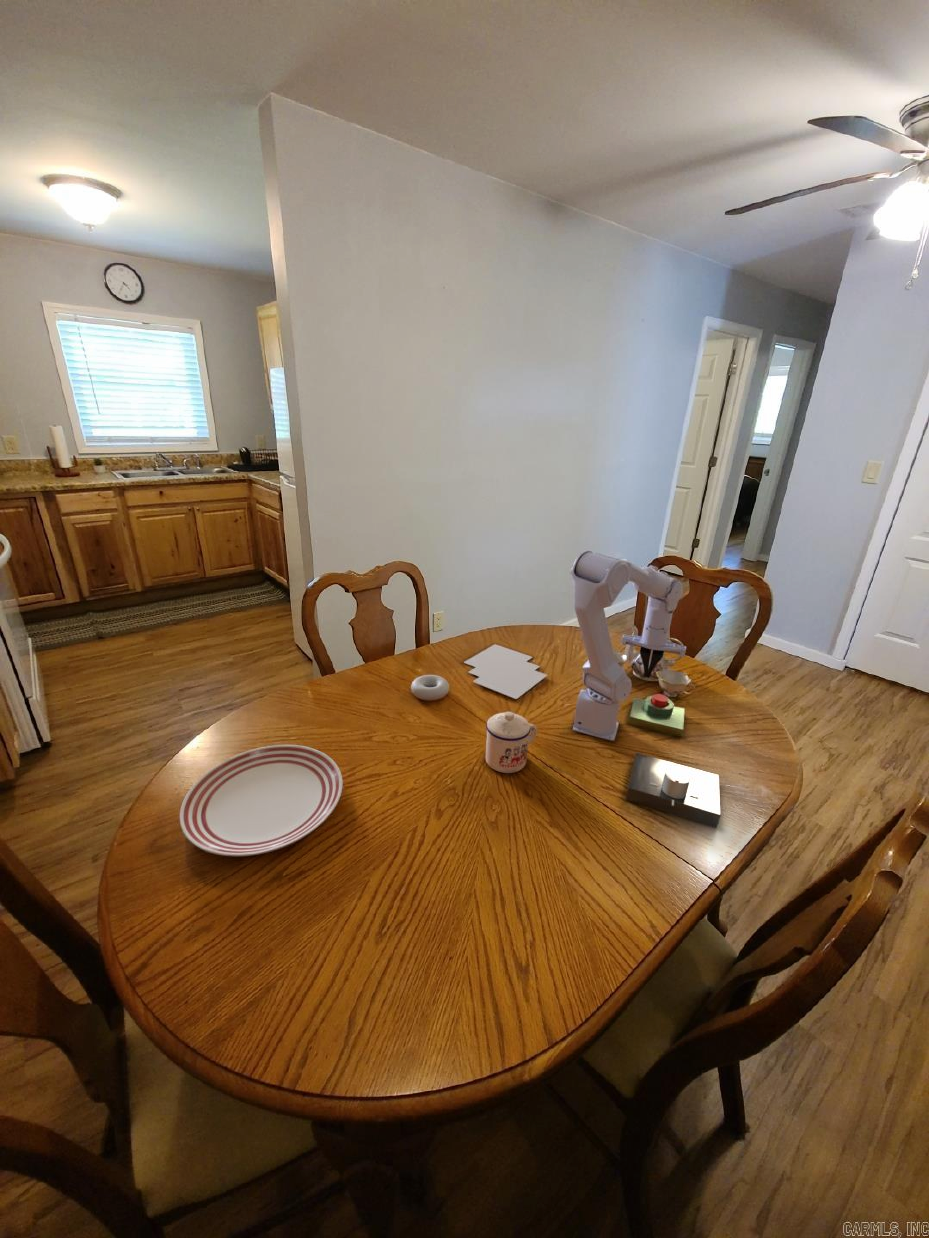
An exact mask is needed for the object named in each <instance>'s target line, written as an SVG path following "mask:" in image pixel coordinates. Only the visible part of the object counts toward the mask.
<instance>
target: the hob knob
mask: <svg viewBox="0 0 929 1238" xmlns="http://www.w3.org/2000/svg"><path fill="white" fill-rule="evenodd" d="M689 783H690V776H689V775H688V774H687V773H686V772H685V771H683V770H681V769H678V768H668V769H667V770H666V771H665V775H664V779H663V784H662V790H663V792H664V793H665V794H666V795H668V796H670V797H672V798H676V799H682V798H684V797H685V796H686V794H687V790H688V787H689Z"/></svg>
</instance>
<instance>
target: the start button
mask: <svg viewBox="0 0 929 1238" xmlns="http://www.w3.org/2000/svg"><path fill="white" fill-rule="evenodd" d="M668 699H669V697H668V696H667V695H665V694H661V693H654V694H653V698H652V704H654V705H656V706H660V707H666V706H667V704H668Z"/></svg>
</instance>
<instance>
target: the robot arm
mask: <svg viewBox="0 0 929 1238" xmlns="http://www.w3.org/2000/svg"><path fill="white" fill-rule="evenodd" d="M569 574H570V577H571V580H572V585H573V590H574V599H573V601H574V602H573V604H574V605H573V607H574V612H575V616H576V619H577V622H578V627H579V630H580V633H581V637H582V641H583V644H584V648H585V652H586V655H587V661H586V662H585V663H584V664H583V666H582V667H581V669H582V684H583V686H584V687H586V688H585V689H580V691H579V694H578V696H577V701H576V707H575V713H574V723H573V727H572V731H573V732H576V733H577V732H578V733H582V734H585V735H588V736H592V737H595V738H600V739H603V740H607V741H610V742H614V741H615V739H616V735H617V732H618V729H619V724H620V722H619V721H618V716H619V710H620V704H621V703H622V702H624V701H625V700H626V699H627V698H628V697H629V696H630V694H631V691H632V686H633V684H632V680H631V678H630V677H629V676H628V675H627V672H626V670H625V669H624V667H621V666H620V665H619V664H618V663H617V662H616V661H615V657H614V652H613V650H614V647H613V642H612V640H611V634H610V631H609V626H608V621H607V618H606V613H605V608H610V607H612V605H613V604H614V602H615V601H616V599H617V598H618V596H619V594H620V593H621V592H622V591H623V589H624V588H625V586H626V585H628V584H629V582H631V584H632V587H633V588H634V589H635V590H636V591H637V592H639V593H642V594H643V595H645V596H646V597H648V600H647V601H648V602H647V607H646V613H645V619H644V623H643V629H642V634H641V635H638V636H632V635H629V634H623V635H622V637H621V642H620V645H621V646H626V645H632V646H634V647H637V648H639V650H640V656H641V658H642V662H643V666H644V677H648V678H650V675H651V673H652V671H653V669H654V668H655V666H656V665H657V663H658V662H659V661H660V660H661V659H662V657H663V654H664V655H665V653H668V654H673V655H678V656H682V658H683V657H684V658H685V655H686V652H687V646H685V645H683V646H682V645H680V644H679V643H674V642H672V641H671V642H669V641H668V640H669V639H668V638H669V633H670V628H671V623H672V619H673V614H674V611H676V608H677V607H678V603H679V601H680V599H681V598H682V595H683V592H684V589H683V584H682V582H681V581H680V580H679V579H677V578H675V577H672V576H669V574H668V573H667V572H665V571H659V567H657V566H655V565H651V564H650V565H649V566H642V567H639V566H638V565H636V564H635V563H632V562H631V561H629V560H626V559H622V558H619V557H615V556H612V555H607V554H603V553H598V552H592V551H591V550H584V551H582V552H580V553H579V554H578V555H577V557H576V558H575V560H574V562H573V565H572V567H571V569H570V572H569ZM667 639H668V640H667ZM651 650H653V652H652V657H651V663H650V666H649V660H650V655H651Z"/></svg>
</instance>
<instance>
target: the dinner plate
mask: <svg viewBox="0 0 929 1238" xmlns="http://www.w3.org/2000/svg"><path fill="white" fill-rule="evenodd" d="M343 785H344V782H343V776H342V772H341V769H340V768H339V766H338V764H337V763H336V762H335V760H333V759H332V758H331V757H330V756H329V755H328V754H326V753H325V752H322V751H320V750H318V749H315V748H312V747H310V746H305V745H299V744H298V745H297V744H275V745H274V744H273V745H268V746H262V747H258V748H253V749H249V750H247V751H244V752H241V753H238V754H236V755H233V756H231V757H229V758H227V759H225V760H224V761H222V762H220V763H218V764H216V765H215V766H213V767H212V768H210V769H209V770H208V771H206V772H205V773H204V774H202V775H201V777H200V778H198V780H197V781H195V782H194V783H193V785H192V786H191V787H190V789H188V792H186V795H185V796H184V798H183V801H182V803H181V806H180V810H179V825H180V829H181V831H182V833H183V835H184V836H185V838H186V839H187V840H188V841H189V842H190V843H191V844H192V845H194V846H195V847H196V848H198V849H200V850H202V851H205V852H206V853H210V854H213V855H218V856H224V857H250V856H256V855H262V854H267V853H271V852H274V851H278V850H280V849H284V848H286V847H288V846H290V845H292V844H294V843H296V842H297V841H300V840H302V839H303V838H305V837H306V836H308V835H309V834H311V833H312V832H314V831H315V830H316V829H317V828H318V827H319V826H321V825H322V824H323V823H324V822H325V821H326V820H327V819H328V818H329V817H330V815H331V814H332V813H333V811H334V810H335V808H336V806H337V805H338V803H339V801H340V798H341V796H342V793H343Z"/></svg>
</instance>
